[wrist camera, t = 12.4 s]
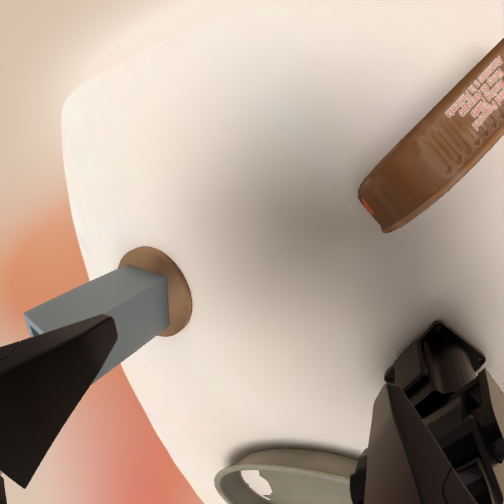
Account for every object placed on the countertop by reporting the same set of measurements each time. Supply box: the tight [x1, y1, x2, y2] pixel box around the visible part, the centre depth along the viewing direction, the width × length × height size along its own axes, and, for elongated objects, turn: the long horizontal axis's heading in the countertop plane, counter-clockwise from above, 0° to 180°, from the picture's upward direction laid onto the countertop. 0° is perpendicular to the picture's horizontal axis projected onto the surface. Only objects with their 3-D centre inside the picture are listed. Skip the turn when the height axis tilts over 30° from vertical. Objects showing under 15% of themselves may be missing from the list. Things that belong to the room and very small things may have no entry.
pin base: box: [118, 247, 192, 337], centre depth 24 cm, size 9×9×5 cm
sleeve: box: [24, 264, 170, 385], centre depth 21 cm, size 5×5×12 cm
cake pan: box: [214, 448, 358, 504], centre depth 26 cm, size 25×25×4 cm
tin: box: [358, 38, 504, 233], centre depth 10 cm, size 15×3×8 cm, turn 137°
